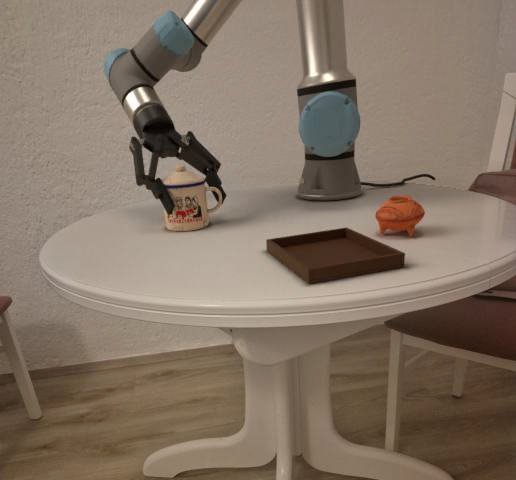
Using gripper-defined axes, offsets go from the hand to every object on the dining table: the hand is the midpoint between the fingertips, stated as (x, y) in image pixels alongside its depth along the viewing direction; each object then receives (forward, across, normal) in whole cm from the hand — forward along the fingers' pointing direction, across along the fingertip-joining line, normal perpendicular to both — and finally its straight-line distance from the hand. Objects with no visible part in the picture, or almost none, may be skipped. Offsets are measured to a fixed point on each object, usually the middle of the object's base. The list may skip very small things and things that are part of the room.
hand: (198, 205), depth 93 cm
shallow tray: (+27, -2, +21) cm, 34 cm away
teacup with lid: (+1, 0, -5) cm, 5 cm away
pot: (+26, -19, +20) cm, 38 cm away
